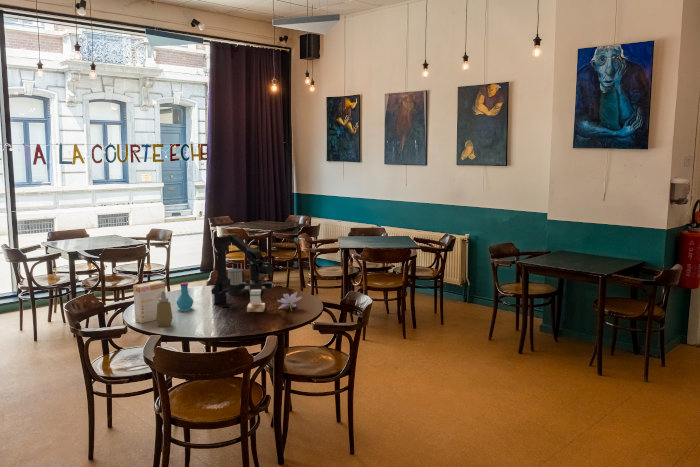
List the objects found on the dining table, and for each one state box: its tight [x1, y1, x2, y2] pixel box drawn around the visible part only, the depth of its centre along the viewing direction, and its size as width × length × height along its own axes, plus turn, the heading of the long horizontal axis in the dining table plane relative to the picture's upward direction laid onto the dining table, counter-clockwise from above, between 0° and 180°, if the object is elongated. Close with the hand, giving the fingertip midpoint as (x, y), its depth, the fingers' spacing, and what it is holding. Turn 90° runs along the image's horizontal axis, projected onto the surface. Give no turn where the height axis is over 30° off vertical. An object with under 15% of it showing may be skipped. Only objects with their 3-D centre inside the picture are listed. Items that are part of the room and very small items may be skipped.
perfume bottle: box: [175, 282, 194, 312], centre depth 341 cm, size 9×9×15 cm
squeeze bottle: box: [155, 291, 173, 328], centre depth 309 cm, size 8×8×18 cm
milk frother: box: [227, 268, 245, 296], centre depth 379 cm, size 14×16×15 cm
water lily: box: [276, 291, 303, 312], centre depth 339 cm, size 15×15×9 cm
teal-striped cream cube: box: [249, 289, 262, 304], centre depth 339 cm, size 6×6×7 cm
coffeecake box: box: [132, 280, 166, 324], centre depth 321 cm, size 15×7×20 cm, turn 134°
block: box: [246, 302, 266, 313], centre depth 340 cm, size 9×9×3 cm
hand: (255, 300), depth 339 cm, fingers closed on teal-striped cream cube, 5 cm apart
